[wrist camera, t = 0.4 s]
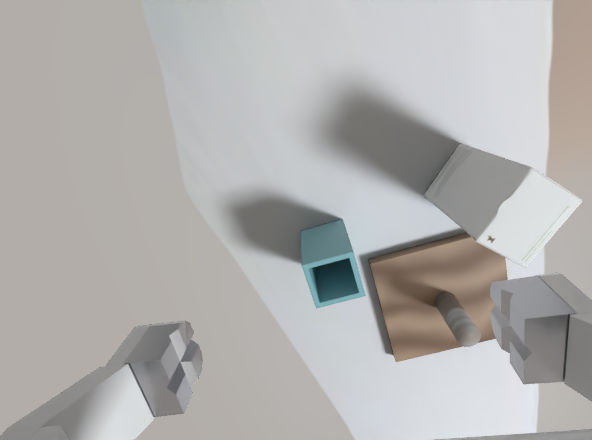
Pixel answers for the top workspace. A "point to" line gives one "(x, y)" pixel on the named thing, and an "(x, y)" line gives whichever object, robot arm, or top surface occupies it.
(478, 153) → the skincare box
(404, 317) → the base
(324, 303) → the teal pencil cup
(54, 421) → the robot arm
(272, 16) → the top surface
